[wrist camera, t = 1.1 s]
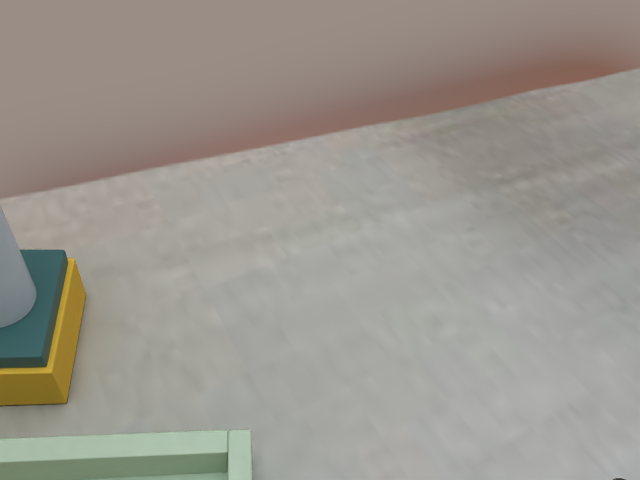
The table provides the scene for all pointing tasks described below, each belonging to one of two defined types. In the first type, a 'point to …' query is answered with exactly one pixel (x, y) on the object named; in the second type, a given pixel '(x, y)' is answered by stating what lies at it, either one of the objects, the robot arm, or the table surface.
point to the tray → (130, 456)
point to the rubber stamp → (37, 322)
